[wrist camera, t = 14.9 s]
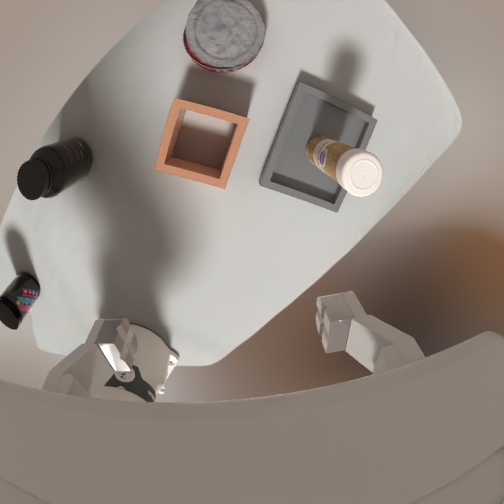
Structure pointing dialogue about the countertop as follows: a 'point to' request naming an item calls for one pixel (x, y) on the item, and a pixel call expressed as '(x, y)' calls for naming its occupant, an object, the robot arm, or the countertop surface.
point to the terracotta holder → (189, 168)
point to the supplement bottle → (54, 168)
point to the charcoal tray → (299, 135)
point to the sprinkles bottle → (346, 165)
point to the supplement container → (18, 299)
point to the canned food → (223, 34)
